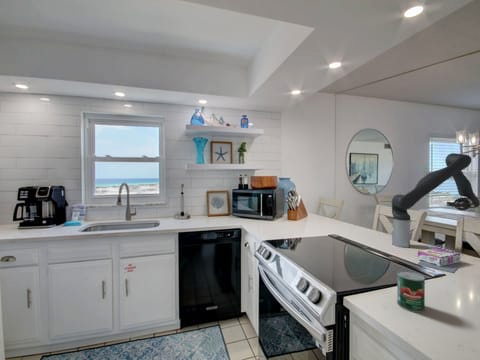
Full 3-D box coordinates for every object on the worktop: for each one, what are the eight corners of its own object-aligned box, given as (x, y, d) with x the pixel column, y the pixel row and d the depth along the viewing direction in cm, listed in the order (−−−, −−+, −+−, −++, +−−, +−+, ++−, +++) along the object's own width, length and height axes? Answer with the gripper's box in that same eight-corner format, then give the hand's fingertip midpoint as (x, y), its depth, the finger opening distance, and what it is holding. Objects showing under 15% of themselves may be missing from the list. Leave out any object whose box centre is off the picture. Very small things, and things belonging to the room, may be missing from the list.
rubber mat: (417, 264, 123) (417, 263, 123) (427, 256, 134) (427, 256, 134) (453, 273, 112) (453, 272, 112) (460, 264, 123) (460, 263, 123)
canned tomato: (412, 300, 88) (413, 270, 87) (430, 312, 80) (431, 279, 79) (391, 300, 87) (392, 270, 87) (407, 312, 79) (408, 280, 79)
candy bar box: (460, 253, 124) (441, 257, 118) (460, 262, 124) (440, 267, 118) (436, 246, 135) (417, 250, 129) (436, 255, 135) (417, 259, 129)
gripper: (449, 197, 153) (442, 198, 143) (478, 198, 143) (472, 200, 132) (449, 208, 154) (441, 210, 143) (477, 211, 143) (472, 213, 132)
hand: (456, 205), depth 138 cm, fingers closed
